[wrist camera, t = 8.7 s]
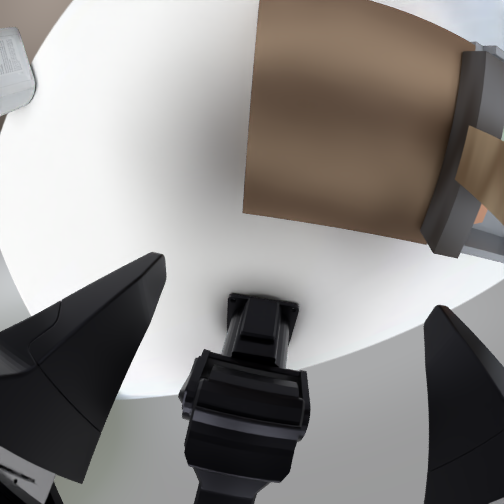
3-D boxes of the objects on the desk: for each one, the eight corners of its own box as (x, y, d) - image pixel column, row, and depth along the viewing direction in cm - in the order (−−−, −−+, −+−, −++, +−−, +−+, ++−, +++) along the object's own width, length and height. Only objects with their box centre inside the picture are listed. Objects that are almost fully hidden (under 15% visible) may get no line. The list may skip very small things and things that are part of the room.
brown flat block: (413, 222, 18) (426, 244, 16) (250, 193, 19) (242, 212, 17) (452, 47, 10) (475, 45, 8) (267, -2, 11) (261, -16, 9)
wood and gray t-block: (448, 237, 15) (503, 334, 8) (413, 229, 15) (465, 334, 8) (492, 69, 8) (595, 94, 1) (456, 47, 8) (563, 51, 1)
